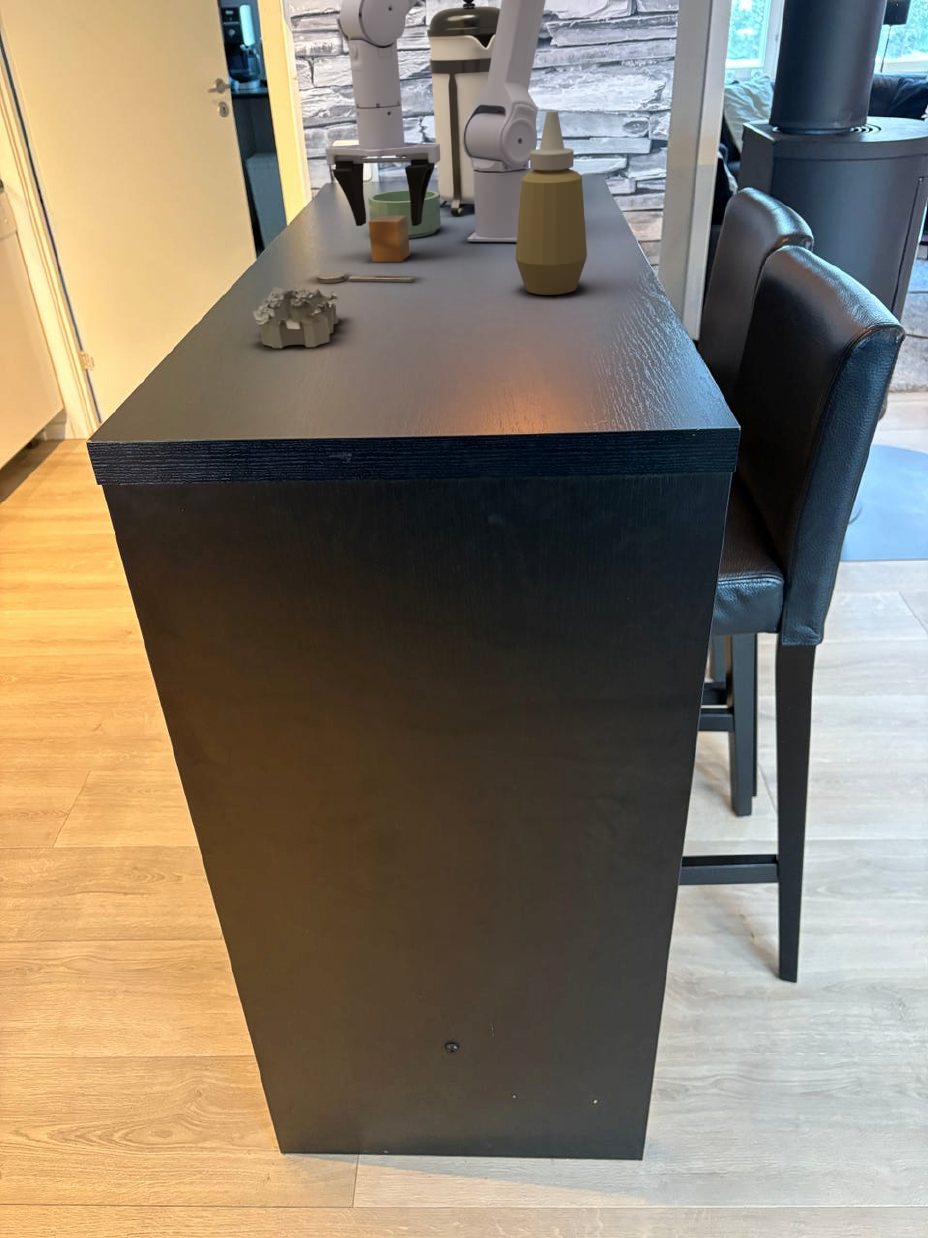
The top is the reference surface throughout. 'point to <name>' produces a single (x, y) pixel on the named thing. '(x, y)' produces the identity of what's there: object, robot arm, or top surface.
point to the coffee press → (458, 90)
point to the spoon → (359, 278)
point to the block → (389, 238)
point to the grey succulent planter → (296, 317)
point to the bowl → (408, 210)
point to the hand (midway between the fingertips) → (388, 224)
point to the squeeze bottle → (551, 217)
